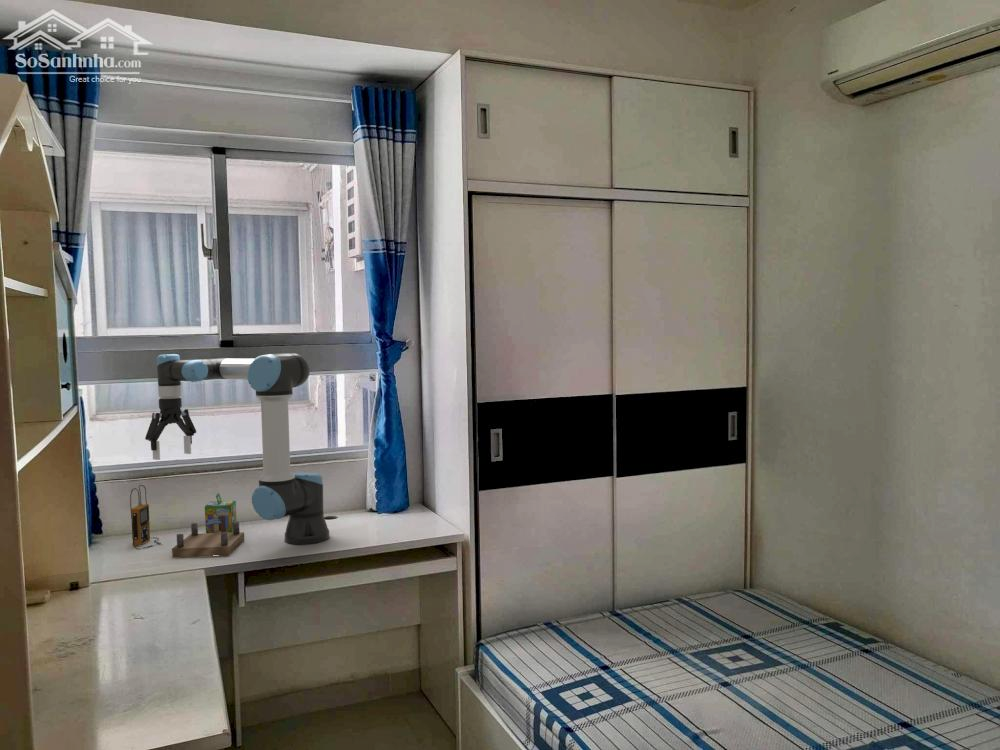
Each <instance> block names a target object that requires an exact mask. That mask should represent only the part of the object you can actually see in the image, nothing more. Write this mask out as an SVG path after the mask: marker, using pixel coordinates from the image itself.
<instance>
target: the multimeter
mask: <svg viewBox="0 0 1000 750" xmlns="http://www.w3.org/2000/svg"><path fill="white" fill-rule="evenodd" d="M140 487H144V491H145V498H144V499H147V489H146V487H145V485H142V484H141V485H138V488H132V489H131V491H130V498H129V500H130V502H129V503H130V504H129V505H130V516H131V517H130V520H131V534H132V540H131V541H132V546H133V547H134V548H135V549H136V550H139V548H138V547H139V546H138V545H142V546H143V545H144V544H146V543H148V541H149V542H150V541H151V538H150V537H151V532H150V531H151V527H150V525H151V524H150V505H149V503H147V500H145V503H142V495H141V488H140ZM133 490H136V491H137V493H138V494H137V496H138V498H137V499H138V502H137V505H136V506H134V507H132V493H133ZM152 537H153V536H152ZM157 538H158V539H159V537H157ZM157 538H156V539H155V537H153V538H152V539H154V541H153V543H156V544H153V545H147V546H144V547H143V549H147V548H146V547H148V548H151V547H150V546H152V547H154V546H157V545H163V543H162V542H159V540H160V539H159V540H158V539H157ZM156 540H157V541H156Z"/></svg>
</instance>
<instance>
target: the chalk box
mask: <svg viewBox="0 0 1000 750" xmlns="http://www.w3.org/2000/svg"><path fill="white" fill-rule="evenodd" d="M215 497H216V501H209V502H208V503H207V504H205V506H204V520H205V533H223V532H227V533H233V522H238V520H237V519H238V518H237V501H236V500H223V499H222V497H221V495H220V492H218V493H216V495H215Z"/></svg>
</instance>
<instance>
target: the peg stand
mask: <svg viewBox="0 0 1000 750" xmlns="http://www.w3.org/2000/svg"><path fill="white" fill-rule="evenodd" d="M198 527H199V526H198V522H192V523H191V524H190V531H191V532H190V534H189V535H187V536H186V537H185V538H184V533H177V534H176V545H175V546H173V547H172V548H171V557H181V558H199V557H198V556H211V557H214V556H213V555H230V554H231V553H232V552H233V551H234V550H235V549H236V548H237V547H238V546H239V545H240V544H241V543H242V542H243V543H244V542H245V532H243V531H241V532H240V522H239V521H237V522H233V533H227V532H223V533H206V532H205V533H199V529H198ZM243 543H242V544H243ZM242 544H241V545H242ZM239 547H240V546H239ZM239 547H238V548H239ZM238 548H237V549H238ZM237 549H236V550H237ZM236 550H235V551H236ZM235 551H234V552H235ZM234 552H233V553H234ZM233 553H232V554H233ZM232 554H231V555H232ZM231 555H230V556H231Z"/></svg>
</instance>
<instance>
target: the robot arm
mask: <svg viewBox="0 0 1000 750" xmlns="http://www.w3.org/2000/svg"><path fill="white" fill-rule="evenodd" d="M156 360H157V361H156V368H157V369H156V372H157V386H158V387H157V390H158V391H157V393H158V397H159V398H158V408H159V410H160V411H159V412H152V414H151V421H150V423H149V427H148V429H147V432H146V435H145V438H144V440H146V441H148V442H149V443H150V450H151V451H152V460H153V461H154V460H155V461H160V460H161V450H160V448H161V447H160V440H159V438H160V436H161V434H162V433H163V431H164V430H165V428H166V427H167V426H168V425H171V424H176V425H177V426H178V428H179V429H180V430H181V431H182V432H183V433H184V435H183V453H184V454H186V455H191V454H192V444H193V437H194V435H195V434H197V428H196V427H195V425H194V422H193V420H192V418H191V417H190V414H189V413H190V412H189V409H187V408H185V409H184V408H182V406H183V405H182V403H183V402H182V401H183V399H182V398H181V397H182V383H181V382H191V383H195V382H196V383H197V382H202V381H208V380H245V381H246V380H247V381H248V384H249V385H250V387H251V389H252V390H254V391H255V397H256V398H257V399H259V400H260V412H261V415H260V416H261V435H262V436H261V440H262V441H261V442H262V443H261V444H262V469H263V470H262V471H263V472H262V474H261V476H260V477H258V486H257V487H256V488H255V489H254V490H253V492H252V495H251V503H252V507H253V510H254V511H255V512H256V514H257V515H258V516H259V517H260V518H262V519H264V520H266V521H274V520H280V519H283V518H284V517H288V521H287V525H286V528H285V532H284V542H285V543H288V544H292V545H308V544H307V543H312V544H316V542H318V543H321V542H320V541H322V542H324V541H323V540H325V541H327V540H328V539H329V538H330V529H329V528H328V524H327V522H326V519H325V516H324V515H325V514H324V483H323V476H322V475H321V474H319V473H316V472H291V451H290V450H291V448H290V421H289V420H290V419H289V418H290V417H289V415H290V414H289V399H290V398H291V397H292V396H293V388H297V387H300V386H302V385H303V384H304V383H306V382H307V380H308V379H309V377H310V372H311V368H310V363H309V362H308V360H307V359H306V358H305V357H304V356H302V355H300V354H298V353H292V352H291V353H269V354H261V355H258V356H257V357H255V358H227V357H218V358H202V359H200V358H199V359H181V358H180V355H179V354H176V353H172V354H170V353H167V354H159V355H158V356H157V359H156ZM181 408H182V409H181ZM192 436H193V437H192ZM326 539H327V540H326Z"/></svg>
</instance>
